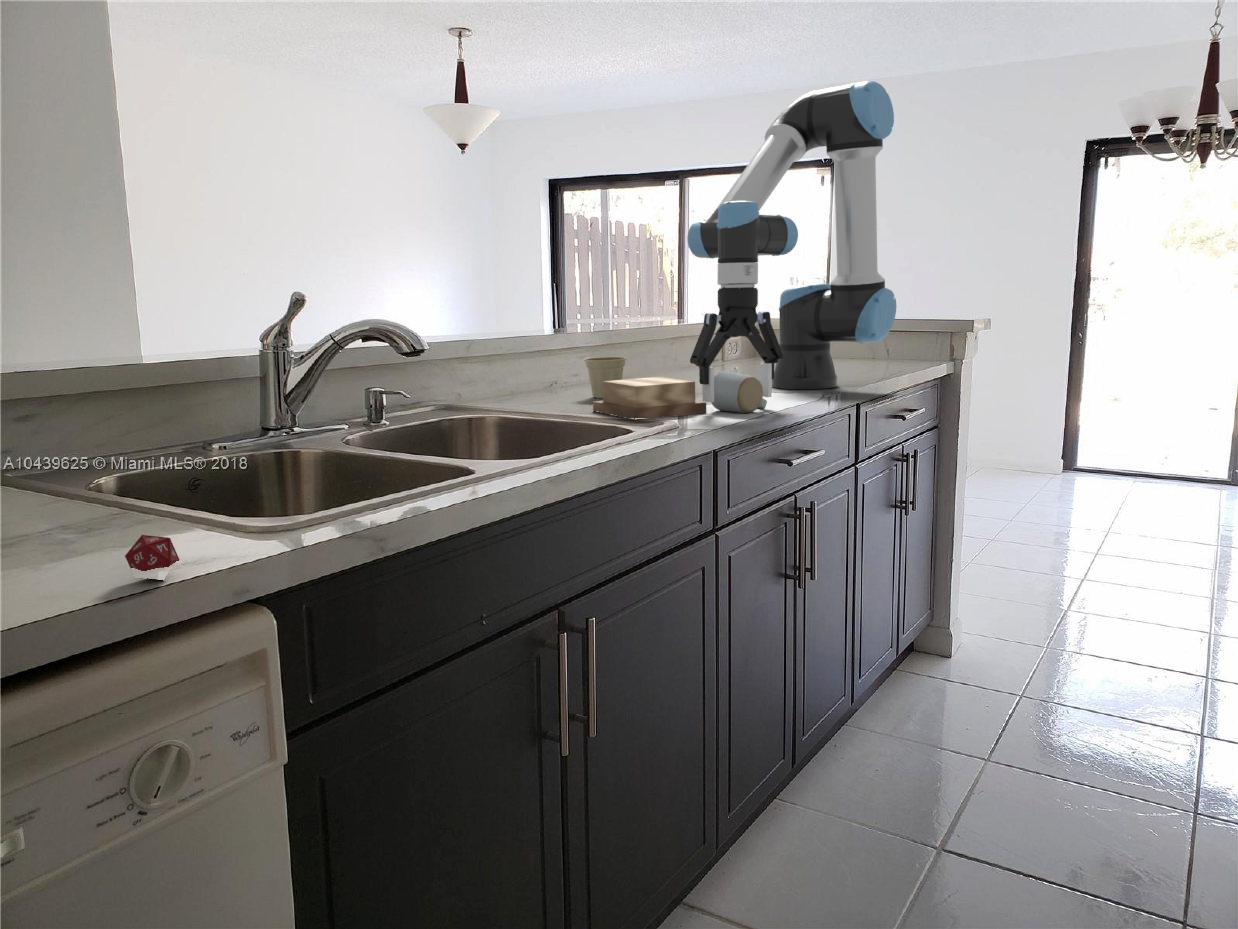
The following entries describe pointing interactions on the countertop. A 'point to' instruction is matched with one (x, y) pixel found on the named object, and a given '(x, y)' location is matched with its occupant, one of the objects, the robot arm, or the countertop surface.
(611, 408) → the board
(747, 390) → the ceramic mug
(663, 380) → the pedestal block
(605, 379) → the flower pot
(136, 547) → the dice
